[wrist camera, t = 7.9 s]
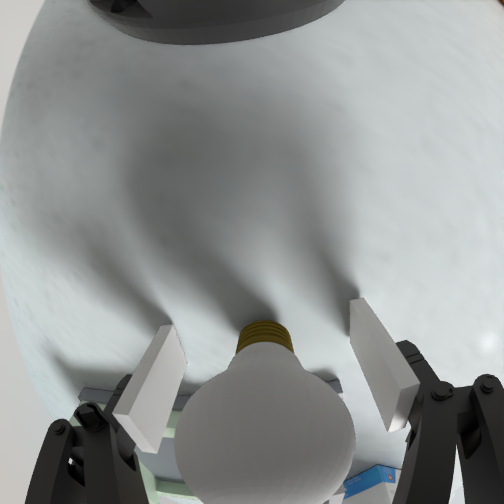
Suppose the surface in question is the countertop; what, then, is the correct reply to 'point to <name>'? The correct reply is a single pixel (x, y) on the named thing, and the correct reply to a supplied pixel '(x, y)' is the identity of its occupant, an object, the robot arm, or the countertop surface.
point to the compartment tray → (171, 452)
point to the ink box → (372, 486)
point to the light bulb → (264, 428)
